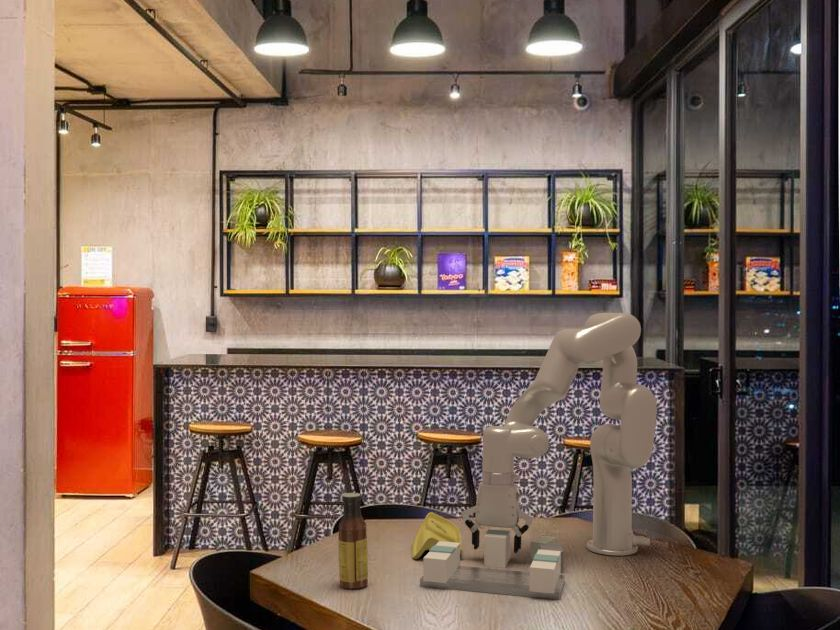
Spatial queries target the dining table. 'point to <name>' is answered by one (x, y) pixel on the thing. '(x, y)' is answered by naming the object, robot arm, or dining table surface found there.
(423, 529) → the plastic component
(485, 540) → the block
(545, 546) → the block
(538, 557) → the mounted module
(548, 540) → the block
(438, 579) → the block
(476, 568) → the rail
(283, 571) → the dining table surface
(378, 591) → the dining table surface
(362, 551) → the sauce bottle
